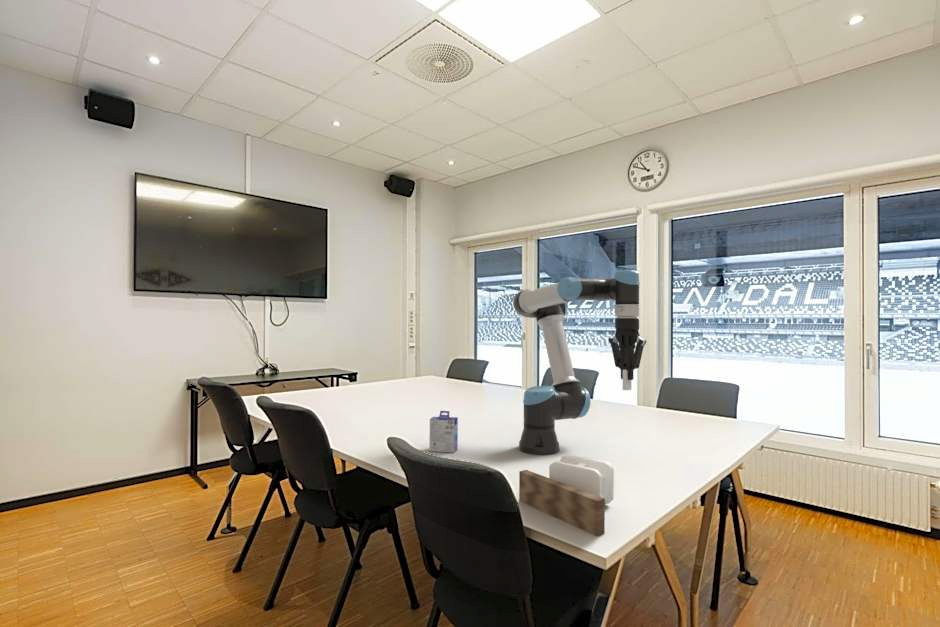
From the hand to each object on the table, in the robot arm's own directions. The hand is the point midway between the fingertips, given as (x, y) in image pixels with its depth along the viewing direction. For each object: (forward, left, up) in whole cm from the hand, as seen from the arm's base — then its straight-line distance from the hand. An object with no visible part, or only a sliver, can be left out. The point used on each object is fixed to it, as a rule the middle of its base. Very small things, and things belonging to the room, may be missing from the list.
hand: (627, 389), depth 155 cm
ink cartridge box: (-55, -35, -27) cm, 70 cm away
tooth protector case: (+10, -35, -27) cm, 45 cm away
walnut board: (+11, -45, -26) cm, 53 cm away
